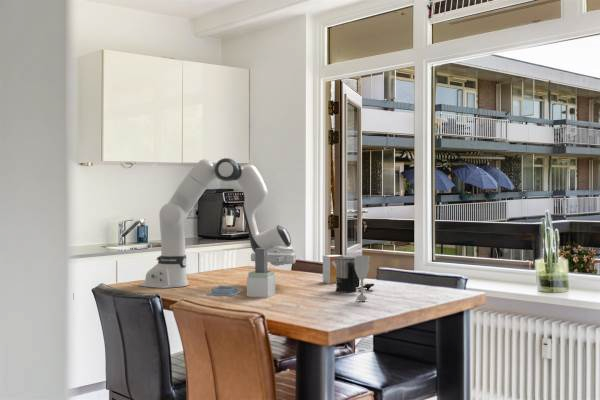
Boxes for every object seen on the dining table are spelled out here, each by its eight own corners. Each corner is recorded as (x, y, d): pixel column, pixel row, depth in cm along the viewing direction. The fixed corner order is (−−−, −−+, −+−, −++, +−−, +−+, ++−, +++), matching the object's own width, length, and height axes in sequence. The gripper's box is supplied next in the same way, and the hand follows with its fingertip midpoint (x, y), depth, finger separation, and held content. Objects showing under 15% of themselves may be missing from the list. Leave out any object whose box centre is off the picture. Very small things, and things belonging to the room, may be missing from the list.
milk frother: (331, 291, 279) (331, 257, 279) (353, 287, 291) (353, 255, 290) (356, 294, 269) (356, 260, 269) (378, 290, 281) (378, 257, 281)
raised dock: (246, 296, 266) (246, 272, 265) (254, 292, 275) (254, 269, 275) (268, 297, 263) (268, 273, 263) (275, 293, 272) (275, 270, 272)
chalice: (365, 303, 250) (365, 257, 249) (350, 301, 253) (350, 256, 253) (373, 300, 256) (373, 256, 255) (358, 298, 259) (358, 255, 259)
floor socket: (206, 294, 270) (206, 289, 270) (217, 290, 281) (217, 285, 281) (232, 296, 266) (232, 290, 266) (242, 291, 278) (242, 286, 278)
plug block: (255, 276, 267) (255, 248, 267) (258, 275, 271) (258, 247, 271) (264, 277, 266) (264, 248, 266) (267, 275, 270) (267, 248, 270)
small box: (330, 283, 300) (330, 256, 300) (322, 282, 306) (322, 255, 305) (343, 282, 305) (343, 255, 304) (335, 280, 310) (335, 254, 310)
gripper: (256, 248, 293) (245, 251, 280) (298, 249, 287) (289, 252, 274) (256, 262, 293) (245, 265, 280) (298, 263, 287) (289, 267, 274)
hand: (267, 259), depth 277 cm, fingers open, 8 cm apart
